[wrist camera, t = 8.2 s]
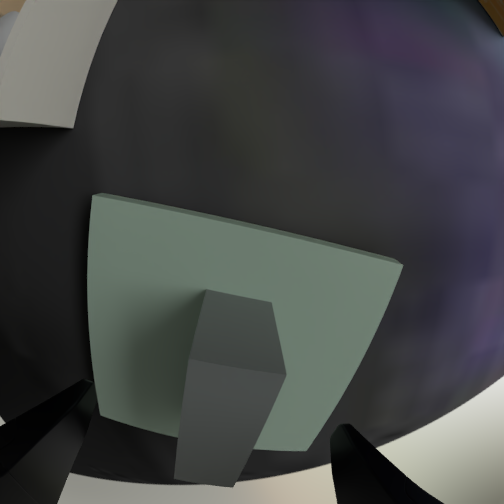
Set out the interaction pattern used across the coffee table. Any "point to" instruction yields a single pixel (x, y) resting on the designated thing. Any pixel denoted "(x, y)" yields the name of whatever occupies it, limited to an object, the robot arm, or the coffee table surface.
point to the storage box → (47, 58)
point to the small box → (495, 12)
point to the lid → (224, 329)
